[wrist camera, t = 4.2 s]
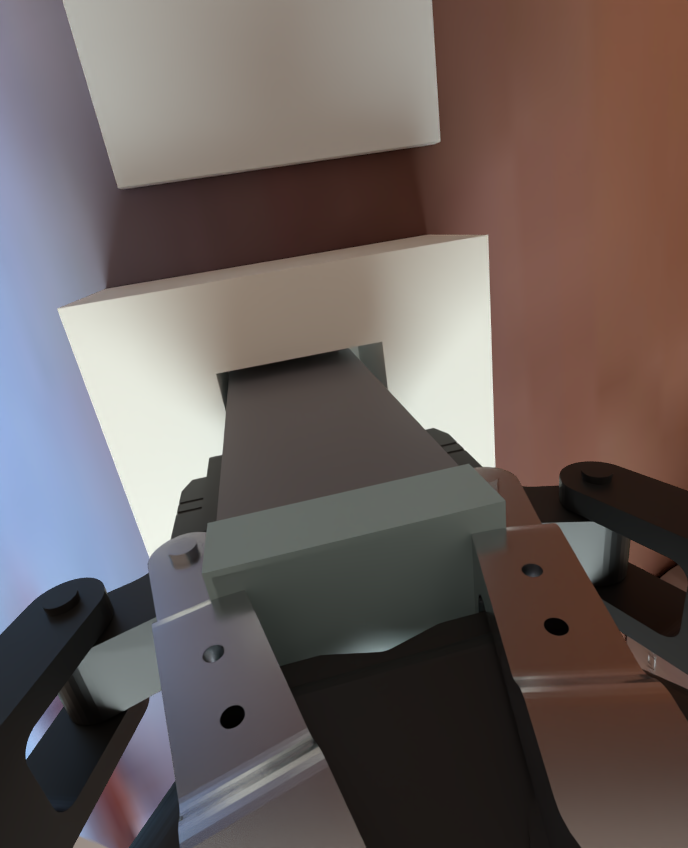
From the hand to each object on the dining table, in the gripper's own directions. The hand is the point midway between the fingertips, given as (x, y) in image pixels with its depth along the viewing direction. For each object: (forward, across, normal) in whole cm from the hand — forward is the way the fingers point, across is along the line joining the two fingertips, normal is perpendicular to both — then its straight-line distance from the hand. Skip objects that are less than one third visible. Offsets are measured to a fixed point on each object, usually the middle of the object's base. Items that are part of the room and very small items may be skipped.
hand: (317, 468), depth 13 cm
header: (+7, 0, 0) cm, 7 cm away
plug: (+6, 0, 0) cm, 6 cm away
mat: (+7, -1, -12) cm, 14 cm away
